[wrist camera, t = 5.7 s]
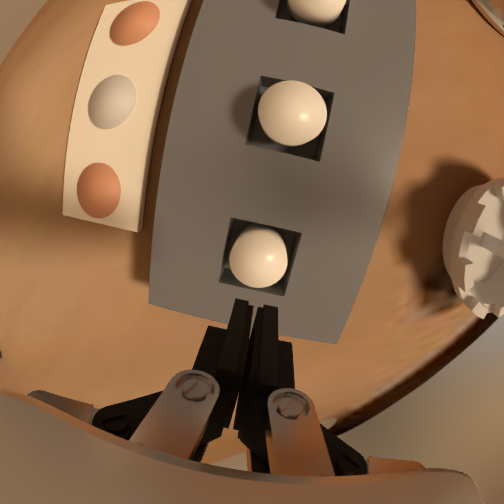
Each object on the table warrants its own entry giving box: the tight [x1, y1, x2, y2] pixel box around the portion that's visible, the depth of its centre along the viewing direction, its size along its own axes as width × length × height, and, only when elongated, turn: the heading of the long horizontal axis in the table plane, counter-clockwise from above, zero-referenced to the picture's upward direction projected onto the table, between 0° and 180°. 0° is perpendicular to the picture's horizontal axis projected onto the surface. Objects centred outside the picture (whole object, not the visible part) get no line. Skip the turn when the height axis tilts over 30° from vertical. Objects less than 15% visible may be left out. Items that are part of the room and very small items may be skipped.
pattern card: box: [63, 0, 192, 232], centre depth 19 cm, size 22×9×1 cm, turn 168°
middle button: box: [258, 80, 327, 147], centre depth 16 cm, size 4×4×3 cm
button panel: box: [149, 0, 416, 344], centre depth 18 cm, size 32×16×4 cm, turn 168°
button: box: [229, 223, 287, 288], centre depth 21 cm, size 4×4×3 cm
